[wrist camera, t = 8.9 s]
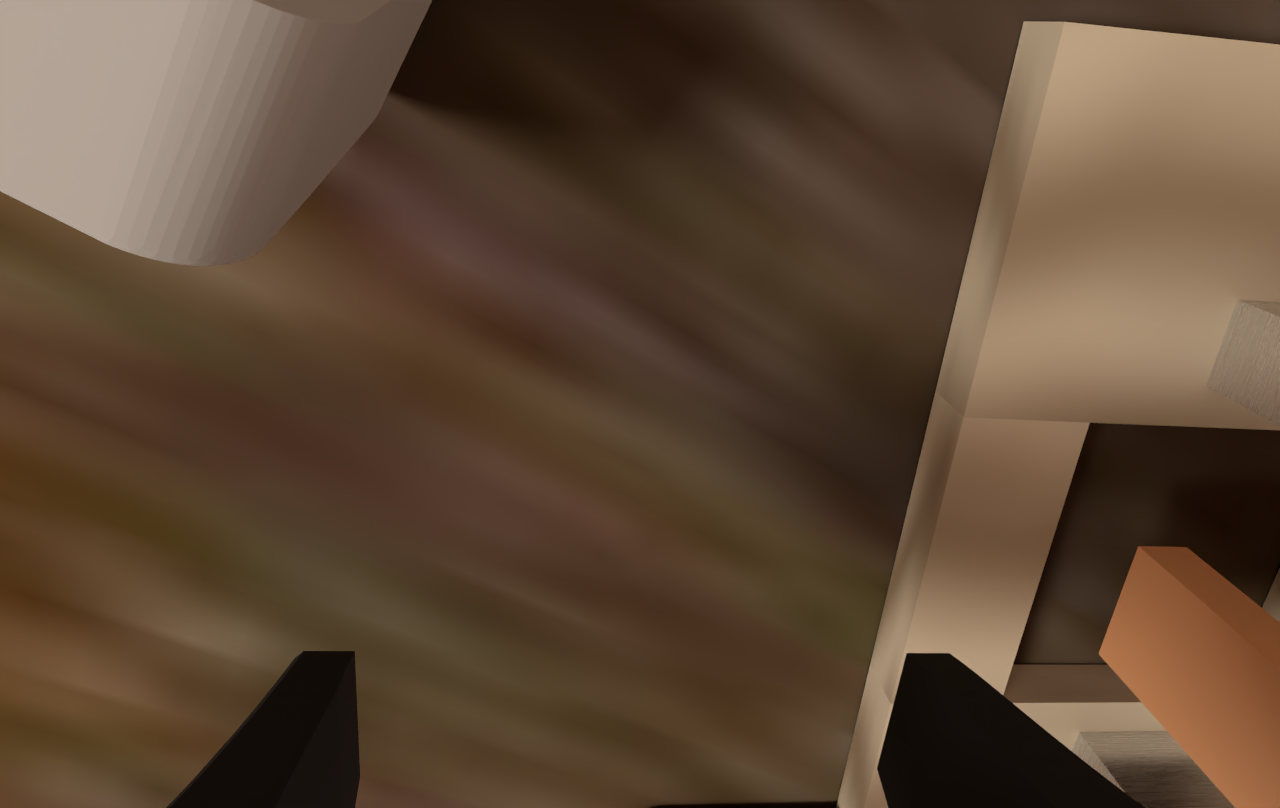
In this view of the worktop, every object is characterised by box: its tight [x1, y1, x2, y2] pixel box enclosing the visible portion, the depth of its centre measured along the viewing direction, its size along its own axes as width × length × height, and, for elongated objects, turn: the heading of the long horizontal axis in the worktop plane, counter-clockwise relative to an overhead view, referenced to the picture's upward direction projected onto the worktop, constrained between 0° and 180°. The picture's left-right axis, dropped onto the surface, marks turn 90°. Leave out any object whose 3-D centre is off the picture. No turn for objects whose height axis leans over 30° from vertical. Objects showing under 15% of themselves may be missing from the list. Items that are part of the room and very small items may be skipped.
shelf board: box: [836, 22, 1280, 808], centre depth 23 cm, size 24×14×2 cm, turn 175°
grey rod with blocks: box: [1072, 300, 1280, 808], centre depth 19 cm, size 14×3×6 cm, turn 175°
